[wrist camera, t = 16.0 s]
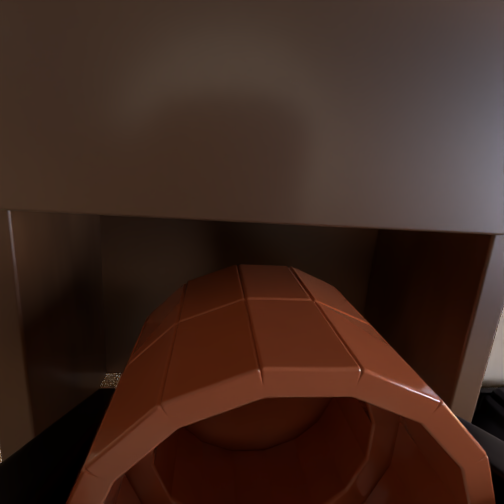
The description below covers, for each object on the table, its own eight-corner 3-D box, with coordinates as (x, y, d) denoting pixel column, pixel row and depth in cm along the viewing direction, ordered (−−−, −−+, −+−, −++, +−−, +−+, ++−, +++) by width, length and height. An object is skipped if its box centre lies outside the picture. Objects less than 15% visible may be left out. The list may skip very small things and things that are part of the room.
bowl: (380, 263, 10) (549, 368, 5) (346, 460, 11) (446, 684, 6) (130, 253, 9) (27, 368, 4) (134, 467, 10) (66, 730, 6)
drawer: (353, 483, 18) (433, 666, 12) (85, 495, 17) (1, 717, 10) (426, 85, 13) (634, 13, 7) (54, 45, 12) (-151, -103, 5)
